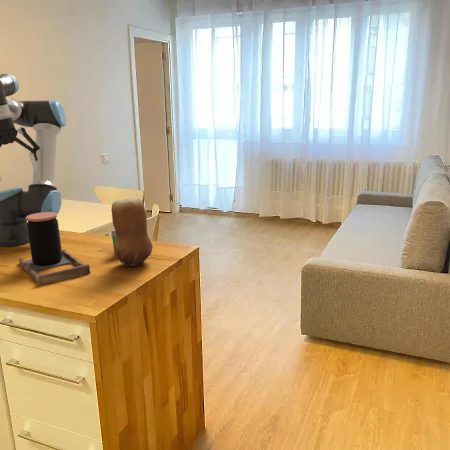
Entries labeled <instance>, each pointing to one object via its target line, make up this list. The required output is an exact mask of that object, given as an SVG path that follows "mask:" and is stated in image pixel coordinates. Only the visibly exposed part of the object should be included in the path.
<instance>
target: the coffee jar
mask: <svg viewBox="0 0 450 450" xmlns="http://www.w3.org/2000/svg"><path fill="white" fill-rule="evenodd" d="M57 217H58V214H56V213H53V212H42V213H35V214H31V215H28V216H27V217H26V219H27V228H28V235H29V247H30V253H31V254H30V255H31V260H32V262H33V263H34V264H35V265H38V266H48V265H53V264H56V263H58V262H60V261H61V259H62V250H63V249H62V244H61V234H60V228H59V221H58V219H57Z"/></svg>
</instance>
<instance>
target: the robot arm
mask: <svg viewBox="0 0 450 450" xmlns="http://www.w3.org/2000/svg"><path fill="white" fill-rule="evenodd" d="M19 89H20V85H19V80H18V79H17V78H16V77H15V76H14V75H13V74H11V73H1V74H0V148H1V147H2V145H3V146H6V145H8V144H13V143H14V142H16V143H17V144H19V145H20V146H22V147H23V148H24V149H26V150H27V151H29V152H28V155H29V158H30V161H31V165H32V168H33V170H32V171H33V173H32V182H31V183H29V185H28V188H27V190H26V191H25V190H24V189H23V187H12V188H8V189H4V190H0V247H15V246H22V245H25V244H28V243H29V244H30V242H29V235H28V228H27V222H28V221H27V219H26V217H27V216H28V215H31V214H35V213H42V212H53V213H56V214H57V215H58V214H59V213H60V211H61V207H62V202H63V201H62V193H61V192H60V191H59V190H58V187H57V186H56V185H55V168H56V153H57V139H58V137H57V135H59V134H60V133H61V131H62V130H61V129H62V128H64V127H66V125H67V115H66V112H65V108H64V106H63V104H62V103H61V102H60V101H58V100H55V99H54V100H51V99H48V100H17V99H15V98H9V96H10V97H12V95H14V94H16V93H17V92H18V91H19ZM15 124H16V125H18V126H19V128H16V127H15ZM25 127H26V128H32V129H33V130H34V131H35V141H34V139H33V138H32V137H31V136H30V135H29V134H28V133H27V130H26V129H25ZM18 134H20V135H22V137H23V138H24V139H26V141H27V142H28V143H29V144H30V145H31V146H32V147H31V146H30V145H28V144H27V143H26V142H24V141H23V140H21V139H20V138H19V137H17V136H18ZM1 181H3V180H2V178H1V176H0V182H1Z"/></svg>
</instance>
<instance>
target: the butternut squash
mask: <svg viewBox="0 0 450 450" xmlns="http://www.w3.org/2000/svg"><path fill="white" fill-rule="evenodd" d="M110 212H111V219H112V226H113V228H114V231H116V240H115V245H114V246H113V250H114V249H115V253H114V255H115V256H116V259H117V260H118V261H119V262H120V263H121V264H124V265H127V266H130V267H138V266H139V265H140V266H141V265H142V264H144V263H145V261H146V260H147V259H148V258H149V257H150V255H151V254H152V253H153V247H154V246H153V244H152V241H151V239H150V237H149V234H148V224H147V223H148V221H147V220H148V219H147V218H148V217H147V213H146V208H145V204H144V202H143V201H142V200H141V199H140V198H137V197H131V198H126V199H118V200H115V201H113V202H112V204H111V211H110Z"/></svg>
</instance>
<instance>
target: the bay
mask: <svg viewBox="0 0 450 450" xmlns="http://www.w3.org/2000/svg"><path fill="white" fill-rule="evenodd" d="M61 250H62V254H64V255H65V256H66V257H67V258H69V259H70V260H71V261H73V263H72V264H74V265H75V266H73V267H70V268H65V269H62V270H56V271H53V272H48V273H44V274H38V273H37V271H34V270H33V269H32V268H31V267H30V266H29V265H28V264H27V263H26V262H25V261H26V260H24V259H23V258H22V257H20V258H18V260H19V264H20V265H21V266H22V267H23V269H24V270H26V272H27V273H28V274H29V276H31V278H33V279H34V281H36V282H37V284H39V286H42V285H46V284H51V283H55V282H59V281H62V280H63V281H64V280H67V279H73V278H75V277H79V276H83V275H87V274H88V275H89V274H91V269H90V268H91V267H90V265H89V264H88V263H87V264H84V263H83V262H82V261H81V260H79V259H78V258H77V257H75V255H73V254H72V253H70V252H69V251H67V250H66V249H61Z"/></svg>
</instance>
